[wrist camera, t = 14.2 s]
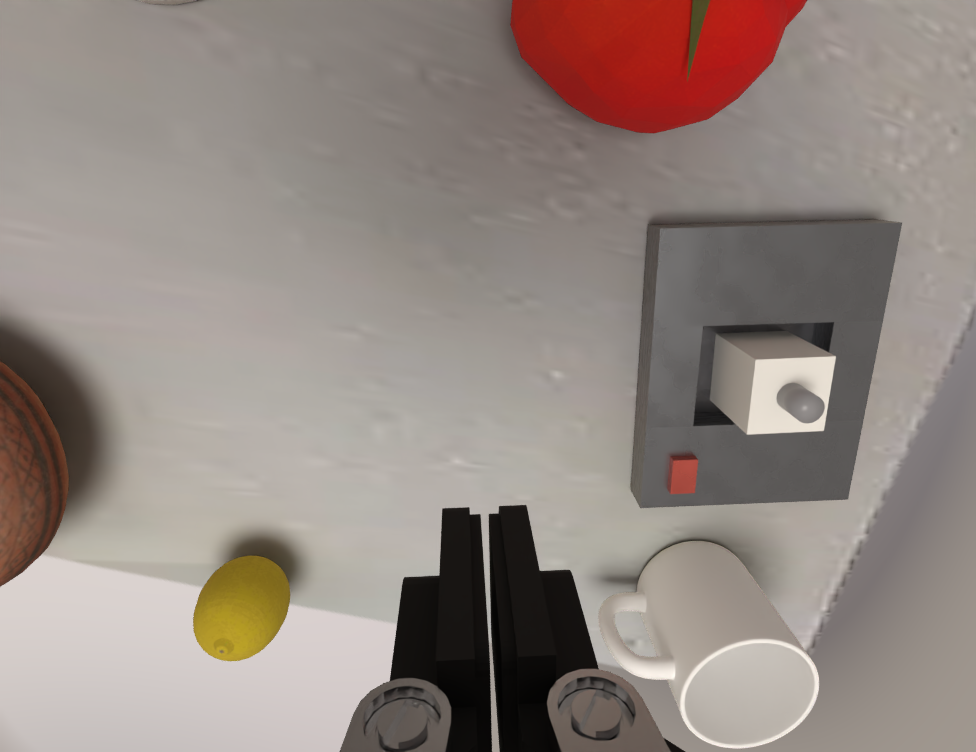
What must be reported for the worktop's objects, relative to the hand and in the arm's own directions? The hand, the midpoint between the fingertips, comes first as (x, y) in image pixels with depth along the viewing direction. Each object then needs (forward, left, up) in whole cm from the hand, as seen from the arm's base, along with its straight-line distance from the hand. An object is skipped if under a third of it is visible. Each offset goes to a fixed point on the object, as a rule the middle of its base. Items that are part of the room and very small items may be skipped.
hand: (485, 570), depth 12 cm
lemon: (+19, -15, -27) cm, 36 cm away
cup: (+22, +14, -27) cm, 38 cm away
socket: (+5, +18, -27) cm, 33 cm away
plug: (+5, +18, -27) cm, 33 cm away
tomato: (-15, +9, -27) cm, 32 cm away
